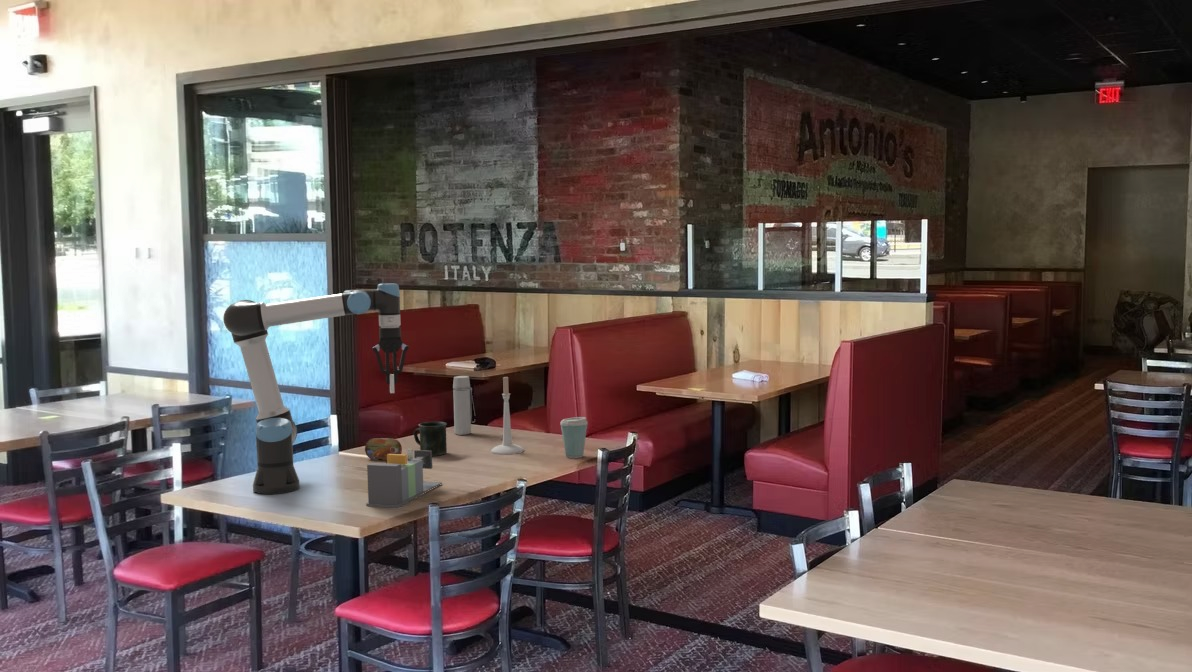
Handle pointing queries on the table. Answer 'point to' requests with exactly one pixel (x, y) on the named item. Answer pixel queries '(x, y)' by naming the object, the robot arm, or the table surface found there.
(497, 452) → the candlestick
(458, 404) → the water bottle
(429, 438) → the mug
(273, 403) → the robot arm
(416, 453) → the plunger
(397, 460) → the orange rectangular plank
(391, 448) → the tin
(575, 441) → the disposable coffee cup
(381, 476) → the grey stepped block
